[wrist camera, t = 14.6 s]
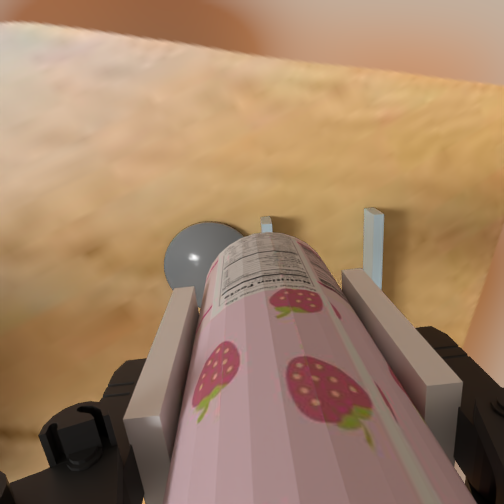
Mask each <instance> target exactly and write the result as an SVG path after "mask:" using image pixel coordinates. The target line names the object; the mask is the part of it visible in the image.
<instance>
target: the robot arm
mask: <svg viewBox="0 0 504 504" xmlns="http://www.w3.org/2000/svg"><path fill="white" fill-rule="evenodd" d="M342 292H343V293H344V295H345V297H346V298H347V300H348V301H349V303H350V304H351V306H352V308H353V309H354V311H355V312H356V314H357V315H358V317H359V319H360V320H361V322H362V323H363V325H364V326H365V328H366V330H367V331H368V333H369V334H370V336H371V337H372V339H373V341H374V342H375V344H376V345H377V347H378V348H379V350H380V352H381V353H382V355H383V356H384V358H385V359H386V361H387V363H388V364H389V366H390V367H391V369H392V370H393V372H394V374H395V375H396V377H397V378H398V380H399V381H400V383H401V385H402V386H403V388H404V389H405V391H406V392H407V394H408V396H409V397H410V399H411V400H412V402H413V403H414V405H415V407H416V408H417V410H418V411H419V413H420V414H421V416H422V418H423V419H424V421H425V422H426V424H427V425H428V427H429V429H430V430H431V432H432V433H433V435H434V436H435V438H436V440H437V441H438V443H439V444H440V446H441V447H442V449H443V451H444V452H445V454H446V455H447V457H448V459H449V460H450V462H451V463H452V465H453V466H454V463H455V460H456V462H457V463H458V465H459V467H460V468H461V470H462V471H463V473H464V474H465V476H466V480H465V485H466V487H467V488H468V490H469V492H470V493H471V495H472V496H473V498H474V499H475V501H476V503H477V504H504V388H502V387H500V386H499V385H498V384H497V383H496V382H495V381H494V380H493V379H492V378H491V377H490V376H489V375H488V374H487V373H486V372H485V371H484V370H483V369H482V368H481V367H480V366H479V365H478V364H477V363H475V361H474V360H473V359H472V358H471V357H468V356H467V353H466V352H464V351H463V350H462V349H461V348H460V347H458V345H457V344H456V343H455V342H454V341H453V340H452V339H451V338H450V337H449V336H448V335H447V334H445V333H443V332H441V331H439V330H438V329H436V328H434V327H432V326H428V327H419V328H414V326H413V325H412V324H411V323H410V322H409V321H408V320H407V319H406V317H405V316H404V315H403V314H402V313H401V312H400V311H399V310H398V308H397V307H396V306H395V305H394V304H393V303H392V302H391V301H390V299H389V298H388V297H387V296H386V295H385V294H384V293H383V292H382V290H381V289H380V288H379V287H378V286H377V285H376V284H375V283H374V282H373V280H372V279H371V278H370V277H369V276H368V275H367V274H366V273H365V271H364V270H363V269H362V268H357V269H348V270H342ZM198 319H199V312H198V306H197V300H196V294H195V288H194V286H191V287H182V288H174V290H173V293H172V295H171V298H170V300H169V303H168V305H167V308H166V311H165V313H164V316H163V318H162V321H161V323H160V326H159V328H158V331H157V334H156V336H155V339H154V341H153V344H152V346H151V349H150V351H149V354H148V357H147V358H146V359H137V360H128V361H126V362H125V363H124V364H123V365H122V366H120V367H119V368H118V369H117V370H116V371H115V372H114V374H113V376H112V378H111V380H110V382H109V384H108V387H107V388H106V390H105V392H104V394H103V398H101V400H100V402H92V401H89V402H83V403H78V404H75V405H73V406H70V407H68V408H65V409H64V410H62V411H61V412H59V413H58V414H56V415H54V416H53V417H52V418H51V419H50V420H49V421H48V422H47V423H46V424H45V425H44V426H43V428H42V430H41V432H40V434H39V435H38V436H39V438H40V441H41V444H42V446H43V449H44V452H45V455H46V457H47V460H48V463H49V465H50V468H48V469H45V470H43V471H41V472H39V473H36V474H33V475H30V476H28V477H25V478H22V479H20V480H17V481H14V482H11V483H9V482H8V480H7V477H6V475H5V474H4V473H2V472H1V471H0V504H142V501H143V497H144V500H145V503H146V504H163V498H164V493H165V488H166V483H167V478H168V473H169V468H170V463H171V457H172V452H173V447H174V442H175V437H176V432H177V427H178V422H179V416H180V411H181V406H182V401H183V396H184V391H185V386H186V381H187V375H188V370H189V365H190V360H191V355H192V350H193V345H194V340H195V334H196V329H197V324H198Z"/></svg>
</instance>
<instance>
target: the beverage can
mask: <svg viewBox="0 0 504 504" xmlns="http://www.w3.org/2000/svg"><path fill="white" fill-rule="evenodd" d="M163 504H477V503H476V501H475V499H474V498H473V496H472V495H471V493H470V492H469V490H468V488H467V487H466V485H465V484H464V482H463V481H462V479H461V477H460V476H459V474H458V473H457V471H456V470H455V468H454V466H453V465H452V463H451V462H450V460H449V459H448V457H447V455H446V454H445V452H444V451H443V449H442V447H441V446H440V444H439V443H438V441H437V440H436V438H435V436H434V435H433V433H432V432H431V430H430V429H429V427H428V425H427V424H426V422H425V421H424V419H423V418H422V416H421V414H420V413H419V411H418V410H417V408H416V407H415V405H414V403H413V402H412V400H411V399H410V397H409V396H408V394H407V392H406V391H405V389H404V388H403V386H402V385H401V383H400V381H399V380H398V378H397V377H396V375H395V374H394V372H393V370H392V369H391V367H390V366H389V364H388V363H387V361H386V359H385V358H384V356H383V355H382V353H381V352H380V350H379V348H378V347H377V345H376V344H375V342H374V341H373V339H372V337H371V336H370V334H369V333H368V331H367V330H366V328H365V326H364V325H363V323H362V322H361V320H360V319H359V317H358V315H357V314H356V312H355V311H354V309H353V308H352V306H351V304H350V303H349V301H348V300H347V298H346V297H345V295H344V293H343V292H342V290H341V289H340V287H339V286H338V284H337V282H336V281H335V279H334V278H333V276H332V275H331V273H330V271H329V270H328V268H327V267H326V265H325V264H324V262H323V261H322V259H321V258H320V256H319V255H318V254H317V252H316V251H315V250H313V249H312V248H311V247H310V246H309V245H308V244H307V243H305V242H303V241H301V240H299V239H298V238H296V237H293V236H290V235H286V234H283V233H274V232H265V233H256V234H252V235H249V236H246V237H243V238H241V239H239V240H237V241H235V242H234V243H232V244H230V245H229V246H228V247H227V248H225V249H224V250H223V251H222V252H221V253H220V254H219V255H218V257H217V258H216V259H215V261H214V262H213V263H212V265H211V268H210V270H209V272H208V275H207V278H206V283H205V288H204V293H203V299H202V304H201V309H200V314H199V319H198V324H197V329H196V334H195V340H194V345H193V350H192V355H191V360H190V365H189V370H188V375H187V381H186V386H185V391H184V396H183V401H182V406H181V411H180V416H179V422H178V427H177V432H176V437H175V442H174V447H173V452H172V457H171V463H170V468H169V473H168V478H167V483H166V488H165V493H164V498H163Z"/></svg>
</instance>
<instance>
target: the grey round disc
mask: <svg viewBox="0 0 504 504" xmlns="http://www.w3.org/2000/svg"><path fill="white" fill-rule="evenodd" d="M243 237H245V236H244V235H242V234H241V233H240V232H239V231H238V230H236V229H235V228H233V227H231V226H229V225H226V224H223V223H219V222H212V221H211V222H199V223H196V224H193V225H190V226H188V227H186V228H185V229H183V230H182V231H181V232H179V233H178V234H177V235H176V236H175V237H174V239H173V240H172V242H171V243H170V245H169V247H168V249H167V251H166V254H165V259H164V270H165V275H166V279H167V281H168V283H169V285H170V287H171V288H172V290H174V288H182V287H191V286H194V288H195V294H196V300H197V306H198V307H199V308H201V304H202V299H203V293H204V288H205V283H206V278H207V275H208V272H209V270H210V268H211V265H212V263H213V262H214V261H215V259H216V258H217V257H218V255H219V254H220V253H221V252H222V251H223V250H224V249H225V248H227V247H228V246H229V245H230V244H232V243H234V242H235V241H237V240H239V239H241V238H243Z"/></svg>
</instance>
